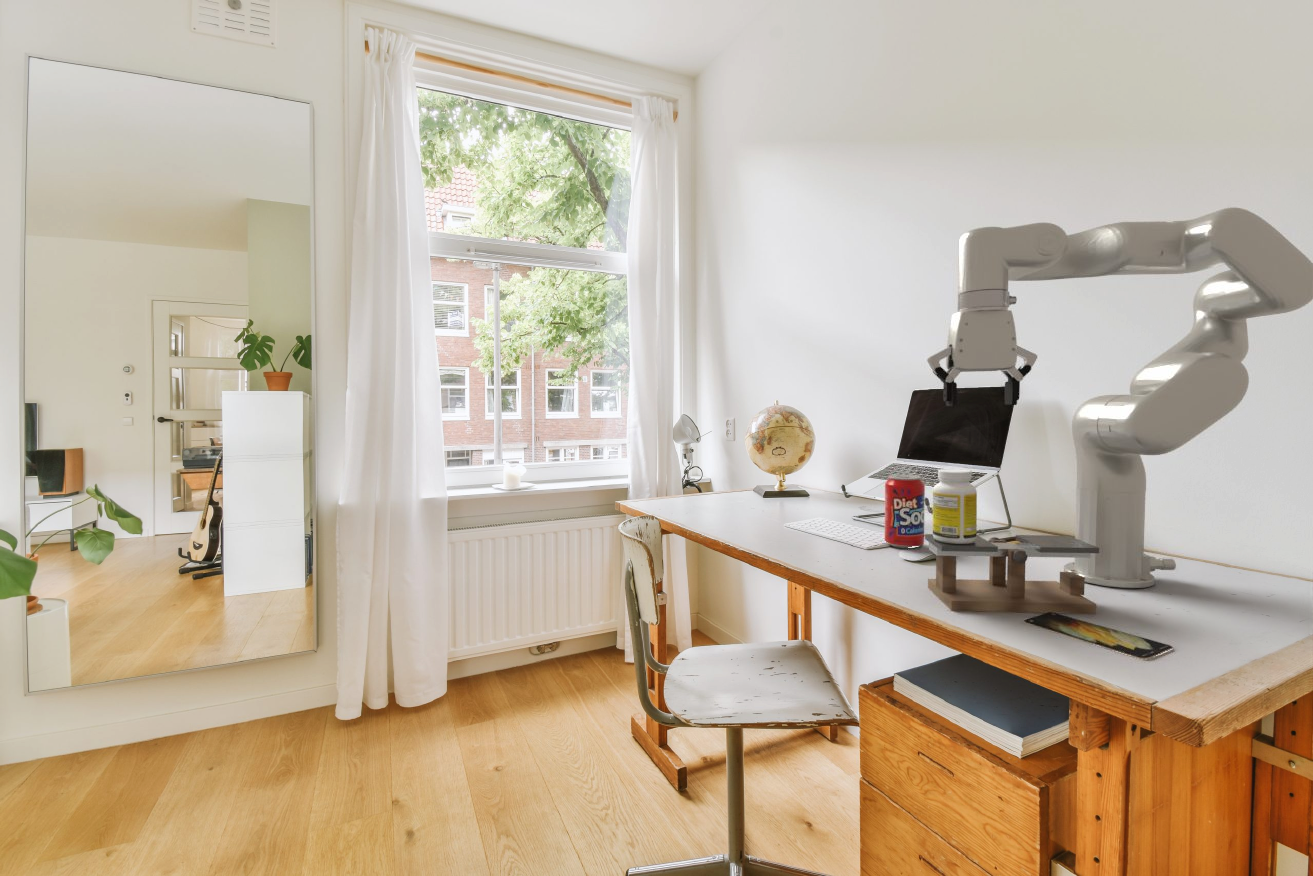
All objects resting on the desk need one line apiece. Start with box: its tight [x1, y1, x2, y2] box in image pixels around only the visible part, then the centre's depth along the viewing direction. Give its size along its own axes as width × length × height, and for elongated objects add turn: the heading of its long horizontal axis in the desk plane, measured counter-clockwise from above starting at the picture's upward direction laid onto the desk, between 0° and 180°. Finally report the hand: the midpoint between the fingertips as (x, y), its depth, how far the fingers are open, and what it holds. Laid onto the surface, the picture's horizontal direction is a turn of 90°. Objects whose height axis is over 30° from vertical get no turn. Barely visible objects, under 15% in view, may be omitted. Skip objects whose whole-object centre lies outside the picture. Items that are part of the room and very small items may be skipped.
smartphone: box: [1023, 612, 1174, 661], centre depth 81 cm, size 7×1×15 cm
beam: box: [924, 533, 1099, 559], centre depth 94 cm, size 22×8×2 cm, turn 83°
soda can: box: [884, 474, 926, 549], centre depth 130 cm, size 8×8×15 cm
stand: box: [927, 536, 1097, 615], centre depth 94 cm, size 20×11×9 cm, turn 83°
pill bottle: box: [932, 468, 978, 544], centre depth 95 cm, size 6×6×11 cm
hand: (980, 405), depth 104 cm, fingers open, 9 cm apart
